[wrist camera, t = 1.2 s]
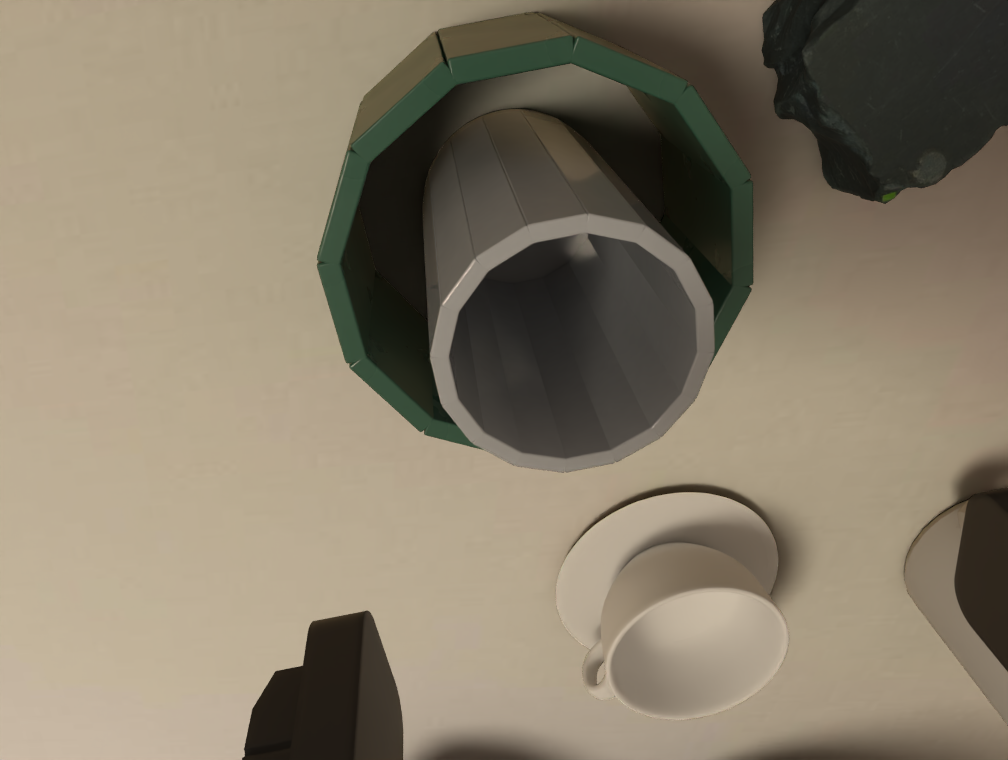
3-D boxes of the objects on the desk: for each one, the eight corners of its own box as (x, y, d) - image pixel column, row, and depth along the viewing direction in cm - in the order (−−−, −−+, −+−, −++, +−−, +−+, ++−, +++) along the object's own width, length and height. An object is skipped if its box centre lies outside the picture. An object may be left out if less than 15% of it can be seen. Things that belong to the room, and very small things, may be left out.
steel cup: (405, 128, 25) (403, 248, 15) (593, 91, 25) (710, 189, 15) (443, 301, 28) (462, 494, 18) (611, 269, 28) (718, 443, 18)
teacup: (701, 443, 32) (744, 518, 28) (811, 577, 36) (862, 658, 32) (507, 574, 34) (521, 660, 30) (633, 684, 38) (659, 773, 34)
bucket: (298, 55, 23) (264, 93, 18) (670, -15, 23) (753, 0, 18) (387, 378, 29) (382, 486, 23) (687, 321, 29) (754, 413, 23)
